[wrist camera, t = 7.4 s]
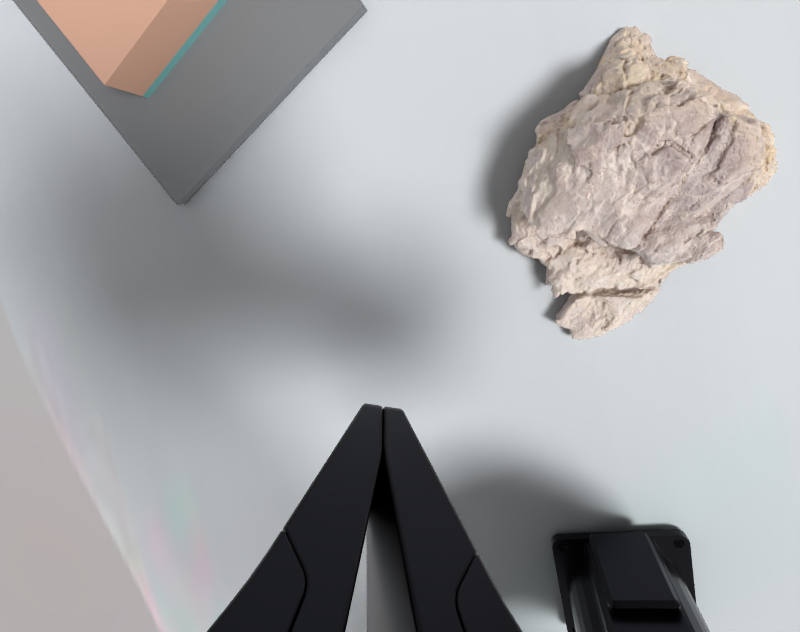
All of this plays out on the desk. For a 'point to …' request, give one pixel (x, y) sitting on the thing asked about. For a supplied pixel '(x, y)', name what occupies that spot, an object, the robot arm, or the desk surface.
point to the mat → (212, 82)
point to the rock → (634, 182)
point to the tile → (132, 36)
